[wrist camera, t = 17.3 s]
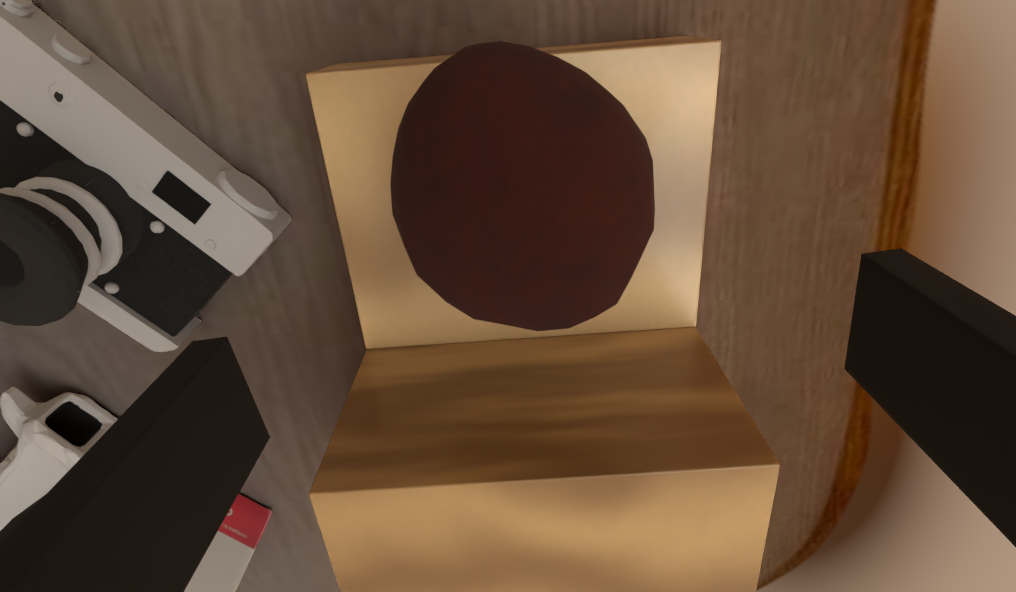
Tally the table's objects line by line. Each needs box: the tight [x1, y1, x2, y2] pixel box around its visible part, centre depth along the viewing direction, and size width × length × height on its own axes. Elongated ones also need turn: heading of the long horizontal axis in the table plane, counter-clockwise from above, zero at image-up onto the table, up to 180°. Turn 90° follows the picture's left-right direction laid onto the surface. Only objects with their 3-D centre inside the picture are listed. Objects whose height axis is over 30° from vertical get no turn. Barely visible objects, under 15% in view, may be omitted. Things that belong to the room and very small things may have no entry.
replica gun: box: [0, 387, 118, 531], centre depth 34 cm, size 29×16×3 cm, turn 130°
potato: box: [390, 41, 655, 331], centre depth 17 cm, size 8×9×8 cm
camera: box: [0, 0, 292, 352], centre depth 21 cm, size 15×7×10 cm
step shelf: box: [306, 36, 780, 592], centre depth 21 cm, size 20×14×12 cm
